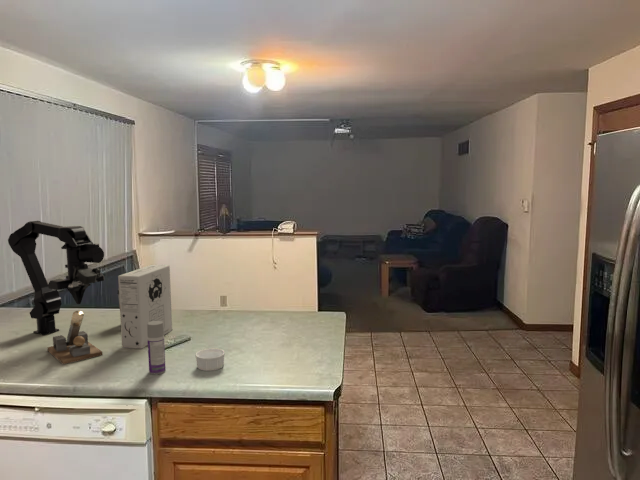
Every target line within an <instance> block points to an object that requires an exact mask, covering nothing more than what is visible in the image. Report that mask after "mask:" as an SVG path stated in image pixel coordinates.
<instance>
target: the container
mask: <svg viewBox="0 0 640 480" xmlns="http://www.w3.org/2000/svg"><path fill="white" fill-rule="evenodd" d="M147 335H148V345H147V353H148V357H147V358H148V373H149V374H150V375H154V374H156V375H161V374H164V373H166V371H167V370H166V349H165V335H164V330H163V322H162V321H151V322H148V323H147Z"/></svg>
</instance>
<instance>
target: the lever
mask: <svg viewBox="0 0 640 480" xmlns="http://www.w3.org/2000/svg"><path fill="white" fill-rule="evenodd" d="M83 319H84V312H83V311H81V310H75V311H73V313H72V317H71V320H70V325H69V329H68V333H67V336H66V346H70V345H74V343H73V340H74V338H75V337H77V336H78V334H79V332H80V329H81V326H82V324H83Z"/></svg>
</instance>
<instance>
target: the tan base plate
mask: <svg viewBox="0 0 640 480" xmlns="http://www.w3.org/2000/svg"><path fill="white" fill-rule="evenodd" d="M66 340H67V337H65V336H64V335H63V334H62V335H61V334H60V335H55V336H52V343H53V344H52V345H53V346H47V348H46V349H47V352H48V353H50V354H51V355H52V356H53V357H54V358H56V359H57V361H59V362H60V363H61V364H62V365H65V364H70V363H74V362H78V361H82V360H86V359H87V360H88V359H91V358H96V357H100V356H103V351H102V350H101V349H100V348H98V347H96V346H95V345H93V343H90V342H89V339H88V332H86V331H84V330H81V331H80V330H79V334H78V336H77V337H75V338H74V340H73V343H74V345H70V346H66Z"/></svg>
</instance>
